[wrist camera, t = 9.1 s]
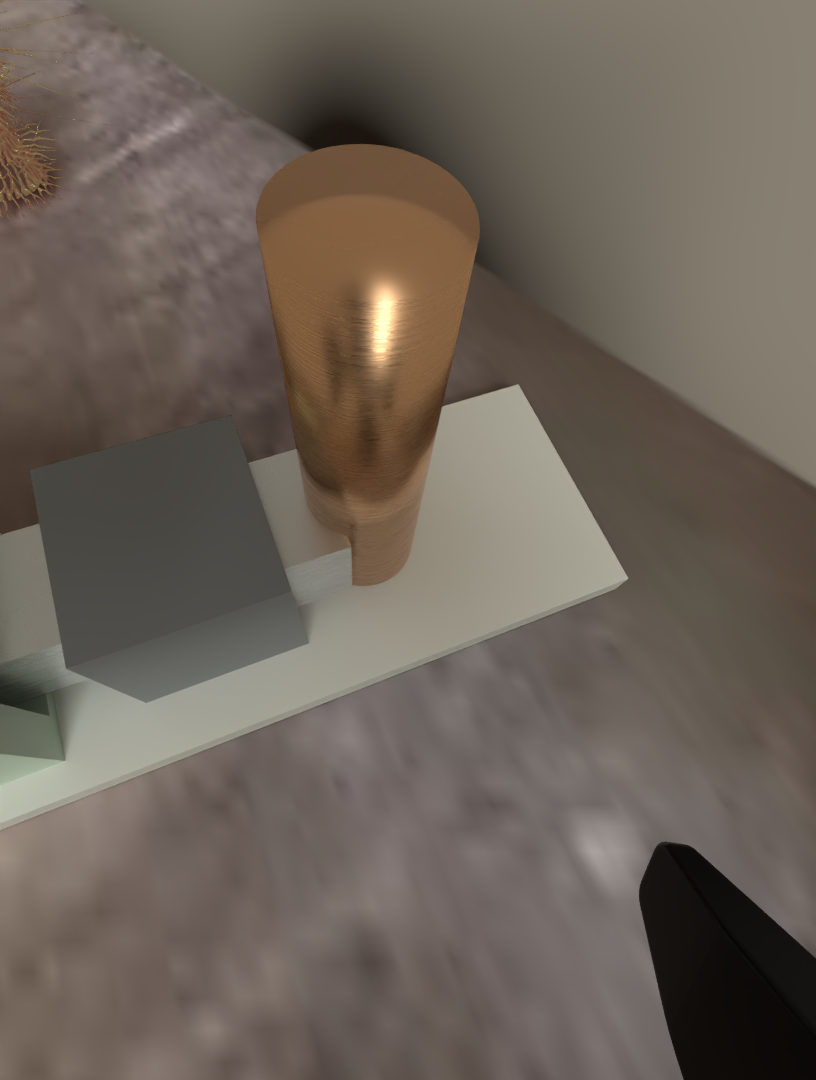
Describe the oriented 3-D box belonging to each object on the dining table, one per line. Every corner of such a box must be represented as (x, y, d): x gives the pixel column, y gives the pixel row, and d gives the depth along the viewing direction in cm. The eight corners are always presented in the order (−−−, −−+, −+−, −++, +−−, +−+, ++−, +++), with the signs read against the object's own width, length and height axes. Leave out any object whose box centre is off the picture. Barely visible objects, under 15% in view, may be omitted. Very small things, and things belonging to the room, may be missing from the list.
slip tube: (390, 484, 21) (428, 129, 10) (426, 566, 20) (516, 271, 9) (-89, 635, 18) (-870, 359, 6) (-79, 745, 17) (-1013, 643, 5)
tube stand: (511, 402, 25) (559, 278, 19) (614, 589, 22) (711, 512, 16) (-164, 602, 20) (-396, 517, 14) (-152, 889, 17) (-445, 944, 10)
